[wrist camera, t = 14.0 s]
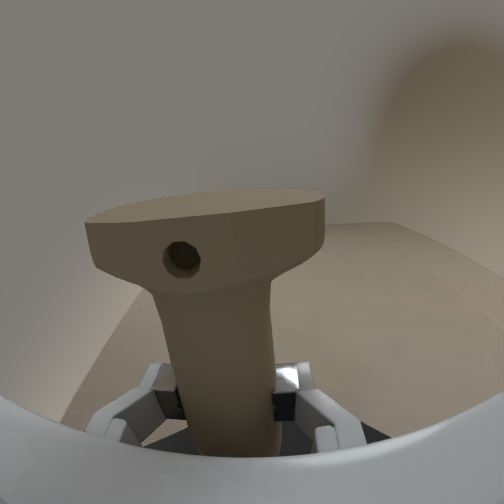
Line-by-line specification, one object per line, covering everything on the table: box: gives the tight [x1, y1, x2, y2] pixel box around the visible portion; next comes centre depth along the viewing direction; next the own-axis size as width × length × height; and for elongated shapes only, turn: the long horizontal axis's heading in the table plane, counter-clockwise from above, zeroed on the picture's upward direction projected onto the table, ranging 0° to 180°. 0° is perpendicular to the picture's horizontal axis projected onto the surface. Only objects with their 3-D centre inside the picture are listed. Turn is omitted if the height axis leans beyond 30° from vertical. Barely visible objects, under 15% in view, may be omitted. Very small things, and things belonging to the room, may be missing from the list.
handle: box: [85, 188, 325, 458], centre depth 9 cm, size 5×6×15 cm
